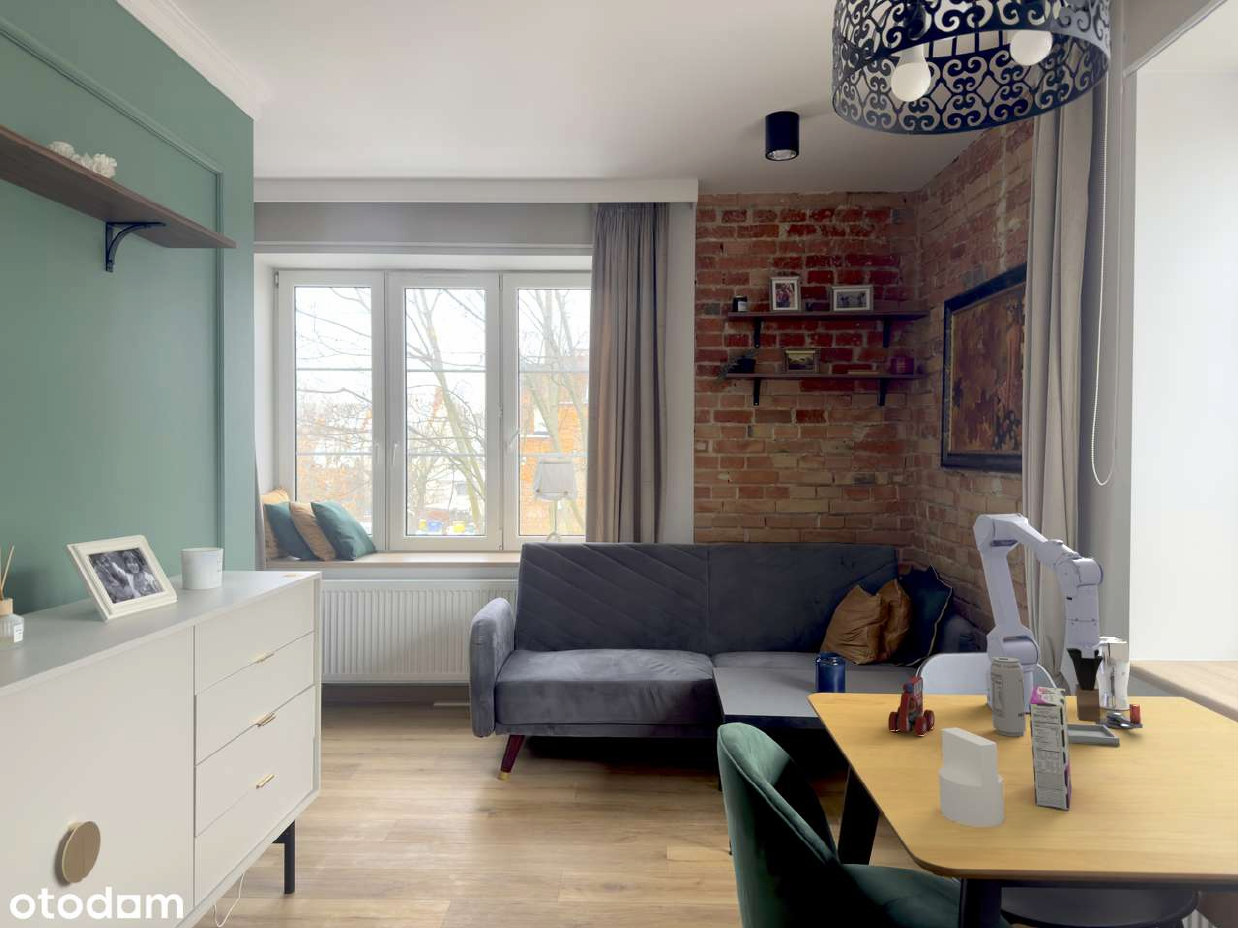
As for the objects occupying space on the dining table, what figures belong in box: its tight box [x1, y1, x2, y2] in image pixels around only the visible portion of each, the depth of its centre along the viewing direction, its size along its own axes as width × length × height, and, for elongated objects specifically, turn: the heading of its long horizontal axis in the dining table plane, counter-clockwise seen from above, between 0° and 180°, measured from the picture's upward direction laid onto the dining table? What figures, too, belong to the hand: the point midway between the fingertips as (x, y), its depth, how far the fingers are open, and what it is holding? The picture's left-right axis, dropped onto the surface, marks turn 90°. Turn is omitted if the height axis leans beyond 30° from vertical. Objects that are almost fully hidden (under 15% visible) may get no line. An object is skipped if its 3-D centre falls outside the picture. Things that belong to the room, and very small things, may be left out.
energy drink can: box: [989, 656, 1027, 737], centre depth 158 cm, size 6×6×15 cm
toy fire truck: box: [887, 675, 936, 736], centre depth 161 cm, size 7×12×10 cm, turn 142°
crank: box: [1105, 703, 1143, 729], centre depth 159 cm, size 9×3×4 cm, turn 1°
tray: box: [1067, 722, 1121, 746], centre depth 153 cm, size 9×9×1 cm
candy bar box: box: [1029, 686, 1072, 811], centre depth 125 cm, size 11×5×16 cm, turn 148°
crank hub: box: [1095, 717, 1135, 730], centre depth 161 cm, size 7×7×1 cm
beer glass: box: [1096, 636, 1131, 711], centre depth 174 cm, size 7×7×15 cm
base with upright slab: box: [938, 727, 1006, 828], centre depth 119 cm, size 9×9×12 cm
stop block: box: [1075, 683, 1101, 723], centre depth 154 cm, size 4×4×6 cm
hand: (1085, 687), depth 154 cm, fingers closed on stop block, 4 cm apart
